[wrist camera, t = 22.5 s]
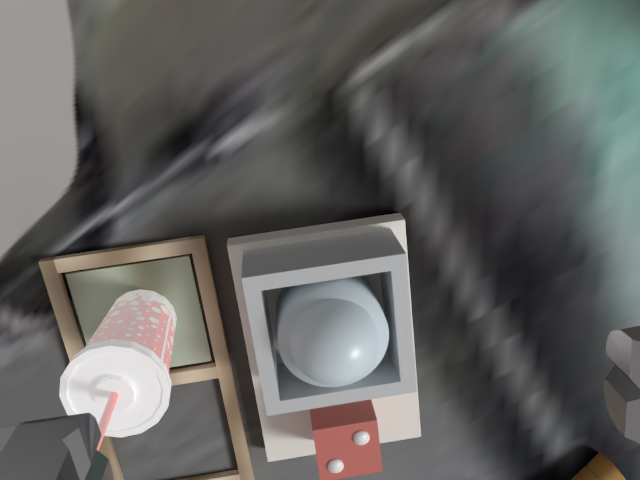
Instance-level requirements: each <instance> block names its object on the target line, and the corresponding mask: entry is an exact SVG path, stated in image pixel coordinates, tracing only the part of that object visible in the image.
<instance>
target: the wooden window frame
mask: <svg viewBox="0 0 640 480" xmlns="http://www.w3.org/2000/svg"><path fill="white" fill-rule="evenodd" d="M185 254H192V256H193V261H194V265H195V270H196V275H197V279H198V284H199V289H200V293H201V298H202V303H203V307H204V312H205V317H206V321H207V326H208V331H209V335H210V340H211V345H212V349H213V354H214V359H215V363H209V364H202V365H196V366H190V367H183V368H177V369H171V370H169V376H170V379H171V382H172V383H171V386H173V385H179V384H185V383H192V382H198V381H204V380H211V379H217V378H219V382H220V386H221V391H222V396H223V400H224V405H225V410H226V414H227V419H228V424H229V428H230V433H231V438H232V442H233V447H234V452H235V456H236V461H237V465H238V469H237V470H230V471H224V472H218V473H212V474H206V475H200V476H194V477H188V478H182V479H176V480H255V479H254V474H253V469H252V464H251V459H250V454H249V450H248V445H247V440H246V435H245V430H244V425H243V420H242V415H241V410H240V405H239V401H238V396H237V391H236V386H235V381H234V376H233V371H232V366H231V361H230V356H229V352H228V347H227V342H226V337H225V332H224V327H223V322H222V317H221V312H220V308H219V303H218V298H217V293H216V288H215V283H214V278H213V273H212V268H211V263H210V259H209V254H208V249H207V244H206V239H205V235H198V236H192V237H185V238H178V239H171V240H165V241H158V242H151V243H144V244H137V245H131V246H124V247H117V248H110V249H103V250H97V251H90V252H83V253H76V254H69V255H63V256H56V257H49V258H42V259H41V260H40V261H39V262H38V263H39V266H40V269H41V272H42V275H43V278H44V282H45V285H46V288H47V291H48V294H49V297H50V301H51V304H52V307H53V310H54V313H55V316H56V320H57V323H58V326H59V329H60V332H61V335H62V338H63V342H64V345H65V348H66V351H67V354H68V357H69V361H71V360H72V358H73V357H74V355H75V354H77V353H78V352H79V351H81V350H82V349H84V346H83V342H82V339H81V336H80V333H79V329H78V326H77V323H76V319H75V316H74V313H73V310H72V306H71V303H70V300H69V296H68V293H67V290H66V286H65V283H64V280H63V277H62V273H64V272H71V271H78V270H84V269H91V268H98V267H105V266H111V265H118V264H125V263H131V262H138V261H145V260H152V259H158V258H165V257H172V256H179V255H185ZM65 275H66V279H67V282H68V285H69V289H70V292H71V295H72V298H73V302H74V305H75V308H76V312H77V315H78V318H79V322H80V325H81V328H82V332H83V335H84V338H85V342H86V345H87V343H88V342H89V340H90V339H91V337H92V336H93V334H94V333H95V331H96V330H97V328H98V327H99V325H100V324H101V322H102V321H103V319H104V318H105V316H106V315H107V313H108V312H109V310H110V309H111V307H112V306H113V304H114V303H115V301H116V300H117V299H118V298H119V297H121V296H122V295H124V294H125V293H127V292H130V291H134V290H139V289H142V290H150V291H154V292H156V293H158V294H160V295H162V296H164V297H165V298H166V299H167V300H168V301H169V302H170V303H171V305H172V306H173V308H174V311H175V314H176V317H177V318H176V326H175V333H174V340H173V348H172V355H171V362H170V367H176V366H182V365H189V364H195V363H201V362H208V361H212V357H211V353H210V348H209V343H208V339H207V334H206V330H205V325H204V320H203V316H202V311H201V306H200V302H199V297H198V293H197V288H196V283H195V279H194V274H193V270H192V265H191V260H190V256H189V255H186V256H179V257H172V258H165V259H159V260H152V261H145V262H139V263H132V264H125V265H118V266H112V267H105V268H98V269H91V270H85V271H78V272H71V273H66V274H65ZM99 452H100V453H102V454H103V455H105V456H106V457H107V458H109V461H110V464H111V468H112V471H113V477H114V480H124V477H123V474H122V471H121V468H120V464H119V461H118V458H117V454H116V451H115V448H114V445H113V441H112V438H111V436H104V437H103V440H102V443H101V446H100V448H99Z"/></svg>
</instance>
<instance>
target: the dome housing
mask: <svg viewBox="0 0 640 480" xmlns="http://www.w3.org/2000/svg"><path fill="white" fill-rule="evenodd" d="M227 250H228V255H229V260H230V265H231V271H232V276H233V281H234V286H235V292H236V297H237V302H238V307H239V312H240V318H241V323H242V328H243V333H244V339H245V344H246V349H247V354H248V360H249V365H250V370H251V375H252V380H253V386H254V391H255V396H256V401H257V407H258V412H259V417H260V422H261V427H262V433H263V438H264V443H265V448H266V454H267V459H268V462H271V461H277V460H283V459H289V458H295V457H301V456H307V455H313V454H316V456H317V463H318V469H319V476H320V480H335V479H341V478H347V477H353V476H359V475H365V474H371V473H377V472H383V470H382V461H381V451H380V443H386V442H392V441H398V440H404V439H410V438H416V437H421V428H420V415H419V401H418V388H417V375H416V361H415V348H414V335H413V321H412V308H411V295H410V281H409V268H408V254H407V241H406V228H405V219H404V218H403V216H402V215H401V213H395V214H388V215H381V216H375V217H368V218H361V219H354V220H348V221H341V222H334V223H327V224H320V225H314V226H307V227H300V228H293V229H287V230H280V231H273V232H266V233H259V234H253V235H246V236H239V237H232V238H228V241H227ZM361 275H363V276H364V277H365V278H366V279H367V280H368V281H369V283H370V284H371V286H372V287H373V289H374V292H375V294H376V296H377V299H378V301H379V303H380V306H381V308H382V311H383V313H384V315H385V318H386V320H387V323H388V328H389V342H388V347H387V350H386V353H385V355H384V357H383V359H382V360H381V362H380V363H379V364H378V366H377V367H376V368H375V369H374V370H373V371H372V372H371V373H370V374H368V375H367V376H366V377H364V378H362V379H361V380H359V381H357V382H354V383H352V384H349V385H345V386H340V387H320V386H315V385H312V384H309V383H306V382H304V381H303V380H301V379H299V378H298V377H296V376H295V375H294V374H293V373H292V372H290V370H289V369H288V368H287V367H286V365H285V364H284V362H283V360H282V358H281V355H280V352H279V347H278V333H277V317H276V307H277V302H278V298H279V295H280V293H281V291H282V289H283V288H284V287H289V286H296V285H302V284H309V283H315V282H322V281H329V280H335V279H342V278H348V277H355V276H361Z"/></svg>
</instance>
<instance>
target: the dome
mask: <svg viewBox="0 0 640 480" xmlns="http://www.w3.org/2000/svg"><path fill="white" fill-rule="evenodd" d="M276 317H277V333H278V347H279V352H280V355H281V358H282V360H283V362H284V364H285V365H286V367H287V368H288V369H289V370H290V372H292V373H293V374H294V375H295V376H296V377H298V378H299V379H301V380H303V381H304V382H306V383H309V384H312V385H315V386H320V387H340V386H345V385H349V384H352V383H354V382H357V381H359V380H361V379H362V378H364V377H366V376H367V375H368V374H370V373H371V372H372V371H373V370H374V369H375V368H376V367H377V366H378V364H379V363H380V362H381V360H382V359H383V357H384V355H385V353H386V350H387V347H388V342H389V328H388V323H387V320H386V318H385V315H384V313H383V311H382V308H381V306H380V303H379V301H378V299H377V296H376V294H375V292H374V289H373V287H372V286H371V284H370V283H369V281H368V280H367V279H366V278H365V277H364V276H363V275H361V276H355V277H348V278H342V279H335V280H329V281H322V282H315V283H309V284H302V285H296V286H289V287H284V288H283V289H282V291H281V293H280V295H279V298H278V302H277V307H276Z"/></svg>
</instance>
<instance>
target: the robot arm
mask: <svg viewBox="0 0 640 480" xmlns="http://www.w3.org/2000/svg"><path fill="white" fill-rule="evenodd" d="M606 355H607V356H608V358H609V359H610V360H611V361H612V362H613V364H614V366H613V367H612V369H611V370H610V371H609V373H608V374H607V375H606V377H605V378H604V398H605V402H606V405H607V409H608V413H609V415H610V417H611V419H612V420H613V422H614V424H615V426H616V427H617V428H618V429H619V431H620V432H621V433H622V434H623V435H624V437H626V438H629V439H631V440H633V441H635V442H637V443H640V326H636V327H630V328H625V329H619V330H613V331H611V332H610V334H609V336H608V339H607V344H606ZM101 436H102V435H101V432H100V429H99V426H98V423H97V420H96V417H94V416H93V415H92V414H90V413H83V414H76V415H69V416H61V417H54V418H47V419H40V420H32V421H25V422H17V423H11V424H5V425H0V480H114V477H113V471H112V468H111V464H110V461H109V458H107V457H106V456H105V455H103V454H102V453H100V452H99V451H98V450H97V447H98V444H99V441H100V438H101Z"/></svg>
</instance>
